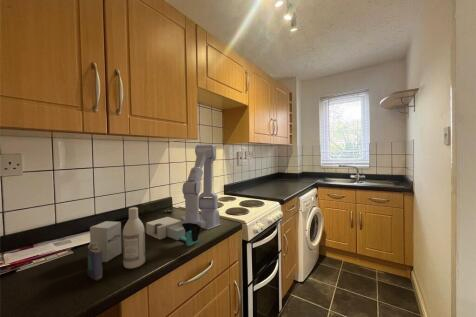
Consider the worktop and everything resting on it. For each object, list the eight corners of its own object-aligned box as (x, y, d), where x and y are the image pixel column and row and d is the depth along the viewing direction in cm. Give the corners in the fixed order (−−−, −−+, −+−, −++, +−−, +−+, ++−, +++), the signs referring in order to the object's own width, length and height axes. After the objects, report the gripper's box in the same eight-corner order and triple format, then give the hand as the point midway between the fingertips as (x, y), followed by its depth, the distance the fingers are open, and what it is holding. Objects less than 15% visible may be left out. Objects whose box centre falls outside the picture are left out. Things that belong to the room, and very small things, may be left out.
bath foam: (135, 257, 77) (134, 205, 77) (149, 260, 74) (148, 206, 74) (118, 267, 70) (117, 209, 70) (133, 270, 68) (132, 211, 68)
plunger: (159, 231, 99) (159, 223, 99) (162, 232, 97) (162, 224, 97) (154, 232, 97) (153, 224, 97) (157, 234, 95) (157, 225, 95)
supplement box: (106, 262, 73) (105, 228, 73) (89, 260, 75) (88, 227, 75) (122, 253, 81) (121, 221, 80) (106, 251, 82) (105, 220, 82)
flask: (104, 278, 64) (102, 244, 64) (93, 282, 62) (91, 247, 62) (95, 267, 70) (94, 237, 70) (85, 271, 68) (84, 240, 68)
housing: (167, 226, 110) (167, 216, 110) (181, 231, 103) (181, 220, 103) (146, 233, 101) (146, 222, 100) (159, 239, 93) (159, 227, 93)
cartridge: (173, 231, 102) (172, 220, 102) (199, 241, 90) (198, 229, 90) (162, 235, 97) (162, 224, 97) (188, 246, 85) (188, 233, 85)
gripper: (174, 208, 89) (174, 238, 89) (195, 213, 80) (196, 247, 80) (187, 205, 95) (187, 233, 95) (208, 209, 86) (209, 241, 86)
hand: (192, 239), depth 88 cm, fingers open, 3 cm apart
